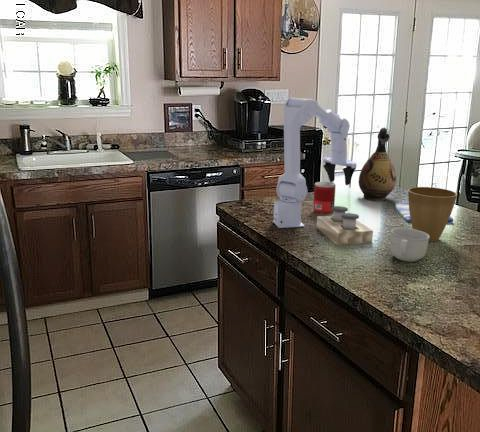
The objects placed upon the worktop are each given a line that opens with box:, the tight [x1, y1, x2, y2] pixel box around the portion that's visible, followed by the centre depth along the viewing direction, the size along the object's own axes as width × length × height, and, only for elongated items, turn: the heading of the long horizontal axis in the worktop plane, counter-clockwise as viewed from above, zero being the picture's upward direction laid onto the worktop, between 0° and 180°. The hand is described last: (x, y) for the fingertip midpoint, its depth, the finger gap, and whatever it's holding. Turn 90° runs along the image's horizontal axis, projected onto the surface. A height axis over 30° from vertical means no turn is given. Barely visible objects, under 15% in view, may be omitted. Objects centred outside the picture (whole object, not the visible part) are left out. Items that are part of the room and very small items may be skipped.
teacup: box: [389, 227, 430, 263], centre depth 153 cm, size 14×11×8 cm
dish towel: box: [394, 201, 454, 225], centre depth 202 cm, size 17×24×3 cm
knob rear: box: [331, 205, 349, 222], centre depth 179 cm, size 6×6×4 cm
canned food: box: [313, 181, 336, 215], centre depth 204 cm, size 8×8×11 cm
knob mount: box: [316, 215, 374, 246], centre depth 176 cm, size 12×19×4 cm, turn 12°
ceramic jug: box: [358, 127, 397, 202], centre depth 223 cm, size 17×15×30 cm
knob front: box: [341, 212, 360, 230], centre depth 171 cm, size 6×6×4 cm
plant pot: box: [407, 186, 458, 243], centre depth 171 cm, size 15×15×16 cm
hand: (339, 182), depth 206 cm, fingers open, 7 cm apart
